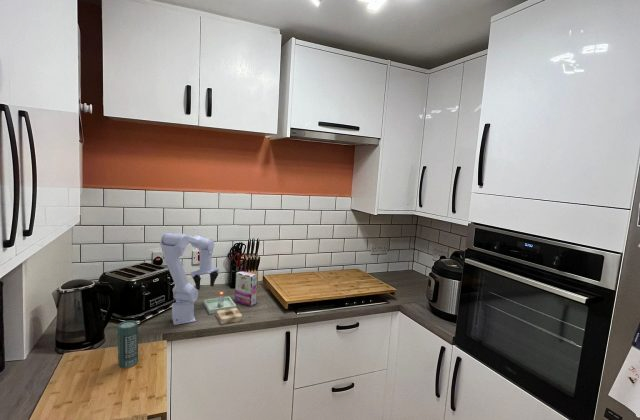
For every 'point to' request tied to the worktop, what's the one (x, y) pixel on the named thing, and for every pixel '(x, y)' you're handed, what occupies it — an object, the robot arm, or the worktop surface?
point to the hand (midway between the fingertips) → (205, 287)
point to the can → (127, 344)
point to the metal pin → (220, 299)
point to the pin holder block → (229, 315)
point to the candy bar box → (246, 288)
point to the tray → (212, 305)
